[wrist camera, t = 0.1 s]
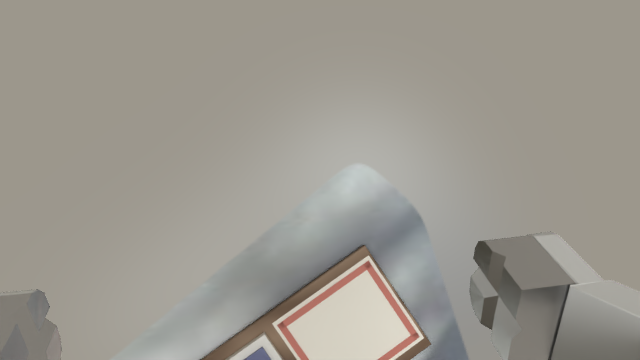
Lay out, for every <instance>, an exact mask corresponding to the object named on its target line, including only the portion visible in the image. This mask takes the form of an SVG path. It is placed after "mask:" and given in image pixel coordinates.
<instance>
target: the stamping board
mask: <svg viewBox="0 0 640 360" xmlns="http://www.w3.org/2000/svg"><path fill="white" fill-rule="evenodd" d="M368 255H369V256H370V258H371V259H372V261H373V262H374V264H375V265H376V267H377V268H378V270H379V271H380V273H381V274H382V276H383V277H384V279H385V280H386V282H387V283H388V285H389V286H390V288H391V289H392V291H393V292H394V294H395V295H396V297H397V298H398V300H399V301H400V303H401V304H402V306H403V307H404V309H405V310H406V311H407V313H408V314H409V316H410V317H411V319H412V320H413V322H414V323H415V325H416V326H417V328H418V329H419V331H420V332H421V334H422V335H423V337H424V339H422V340H421V341H420V342H418V343H417V344H415V345H414V346H413V347H411V348H410V349H409V350H407V351H406V352H405V353H403V354H402V355H401V356H399V357H398V358H396V359H395V360H410V359H412V358H413V357H414V356H416V355H417V354H418V353H420V352H421V351H423V350H424V349H425V348H427V347H428V346H429V345H431V343H430V342H429V340H428V339H427V337H426V336H425V334H424V333H423V331H422V330H421V328H420V327H419V325H418V324H417V322H416V321H415V319H414V318H413V316H412V315H411V313H410V312H409V310H408V309H407V307H406V306H405V304H404V303H403V301H402V300H401V298H400V297H399V295H398V294H397V292H396V291H395V289H394V288H393V286H392V285H391V284H390V282H389V281H388V279H387V278H386V276H385V275H384V273H383V272H382V270H381V269H380V267H379V266H378V264H377V263H376V261H375V260H374V258H373V257H372V255H371V254H370V252H369V251H368V249H367V248H366V246H365V245H363V246H361V247H360V248H359V249H357V250H356V251H354V252H353V253H351V254H350V255H349V256H347V257H346V258H344V259H343V260H342V261H340V262H339V263H337V264H336V265H334V266H333V267H332V268H330V269H329V270H327V271H326V272H324V273H323V274H322V275H320V276H319V277H317V278H316V279H315V280H313V281H312V282H310V283H309V284H307V285H306V286H305V287H303V288H302V289H300V290H299V291H297V292H296V293H295V294H293V295H292V296H290V297H289V298H287V299H286V300H285V301H283V302H282V303H280V304H279V305H278V306H276V307H275V308H273V309H272V310H270V311H269V312H268V313H266V314H265V315H263V316H262V317H260V318H259V319H258V320H256V321H255V322H253V323H252V324H251V325H249V326H248V327H246V328H245V329H243V330H242V331H241V332H239V333H238V334H236V335H235V336H233V337H232V338H231V339H229V340H228V341H226V342H225V343H223V344H222V345H221V346H219V347H218V348H216V349H215V350H214V351H212V352H211V353H209V354H208V355H206V356H205V357H204V358H202V359H201V360H225V359H227V358H228V357H230V356H231V355H232V354H234V353H235V352H237V351H238V350H239V349H241V348H242V347H244V346H245V345H246V344H248V343H249V342H251V341H252V340H254V339H255V338H256V337H258V336H259V335H261V334H262V333H263V332H265V333H266V335H267V336H268V338H269V339H270V341H271V342H272V343H273V345H274V346H275V348H276V349H277V351H278V352H279V354H280V355H281V356H282V358H283V359H284V360H297V359H296V358H295V356H294V355H293V353H292V352H291V350H290V349H289V348H288V346H287V345H286V343H285V342H284V340H283V339H282V337H281V336H280V334H279V333H278V332H277V330H276V329H275V327H274V326H273V324H272V323H273V322H275V321H276V320H278V319H279V318H280V317H282V316H283V315H285V314H286V313H287V312H289V311H290V310H292V309H293V308H295V307H296V306H297V305H299V304H300V303H302V302H303V301H304V300H306V299H307V298H309V297H310V296H312V295H313V294H314V293H316V292H317V291H319V290H320V289H321V288H323V287H324V286H326V285H327V284H329V283H330V282H331V281H333V280H334V279H336V278H337V277H338V276H340V275H341V274H343V273H344V272H346V271H347V270H348V269H350V268H351V267H353V266H354V265H355V264H357V263H358V262H360V261H361V260H362V259H364V258H365V257H367V256H368Z"/></svg>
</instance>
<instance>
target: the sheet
mask: <svg viewBox="0 0 640 360" xmlns="http://www.w3.org/2000/svg"><path fill="white" fill-rule="evenodd" d="M272 324H273V326H274V327H275V329H276V330H277V332H278V333H279V334H280V336H281V337H282V339H283V340H284V342H285V343H286V345H287V346H288V348H289V349H290V350H291V352H292V353H293V355H294V356H295V358H296V359H297V360H395V359H396V358H398V357H399V356H401V355H402V354H403V353H405V352H406V351H407V350H409V349H410V348H411V347H413V346H414V345H415V344H417V343H418V342H420V341H421V340H422V339H424V337H423V335H422V334H421V332H420V331H419V329H418V328H417V326H416V325H415V323H414V322H413V320H412V319H411V317H410V316H409V314H408V313H407V311H406V310H405V309H404V307H403V306H402V304H401V303H400V301H399V300H398V298H397V297H396V295H395V294H394V292H393V291H392V289H391V288H390V286H389V285H388V283H387V282H386V280H385V279H384V277H383V276H382V274H381V273H380V271H379V270H378V268H377V267H376V265H375V264H374V262H373V261H372V259H371V258H370V256H369V255H368V256H367V257H365V258H364V259H362V260H361V261H360V262H358V263H357V264H355V265H354V266H353V267H351V268H350V269H348V270H347V271H346V272H344V273H343V274H341V275H340V276H338V277H337V278H336V279H334V280H333V281H331V282H330V283H329V284H327V285H326V286H324V287H323V288H321V289H320V290H319V291H317V292H316V293H314V294H313V295H312V296H310V297H309V298H307V299H306V300H304V301H303V302H302V303H300V304H299V305H297V306H296V307H295V308H293V309H292V310H290V311H289V312H287V313H286V314H285V315H283V316H282V317H280V318H279V319H278V320H276V321H275V322H273V323H272Z"/></svg>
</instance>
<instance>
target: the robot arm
mask: <svg viewBox="0 0 640 360" xmlns="http://www.w3.org/2000/svg"><path fill="white" fill-rule="evenodd" d="M474 260H475V262H476V263H477V264H478V266H479V268H478V269H477V270H476V271H475V272H474V274H473V275H472V276H471V281H470V297H471V304H472V307H473V310H474V312H475V315H476V316H477V318H478V320H479V322H480V323H481V324H483V325H484V326H486V327H488V328H489V329H491V330H492V333H491V342H492V344H493V345H494V347H495V349H496V350H497V352H498V353H499V355H500V357H501V359H502V360H640V291H637V290H635V289H632V288H630V287H628V286H625V285H623V284H620V283H618V282H616V281H613V280H607V281H604V280H603V279H602V278H601V277H600V276H599V275H598V274H597V273H596V272H595V271H594V270H593V269H592V268H591V267H590V266H589V265H588V264H587V263H586V262H585V261H584V260H583V259H582V258H581V257H580V256H579V255H578V254H577V253H576V252H575V251H574V250H573V249H572V248H571V247H570V246H569V245H568V244H567V243H566V242H565V241H564V240H563V239H562V238H561V237H560V236H559V235H558V234H556V233H554V232H551V231H550V232H544V233H536V234H529V235H526V236H520V237H511V238H502V239H494V240H485V241H478V243H477V245H476V247H475V252H474ZM49 307H50V306H49V303H48V301H47V298H46V296H45V294H44V292H42V291H40V290H38V289H36V290H26V291H15V292H3V293H0V360H61V351H62V347H61V339H60V335H59V331H58V328H57V326H56V325H55V324H53V323H52V322H50V321H49V320H47V319H46V318H45V317H46V315H47V312H48V310H49Z"/></svg>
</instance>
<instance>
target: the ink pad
mask: <svg viewBox="0 0 640 360" xmlns="http://www.w3.org/2000/svg"><path fill="white" fill-rule="evenodd" d="M225 360H284V359H283V358H282V356H281V355H280V354H279V352H278V351H277V349H276V348H275V346H274V345H273V343H272V342H271V341H270V339H269V338H268V336H267V335H266V333H265V332H263V333H262V334H261V335H259V336H258V337H256V338H255V339H254V340H252V341H251V342H249V343H248V344H246V345H245V346H244V347H242V348H241V349H239V350H238V351H237V352H235V353H234V354H232V355H231V356H230V357H228V358H227V359H225Z"/></svg>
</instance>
